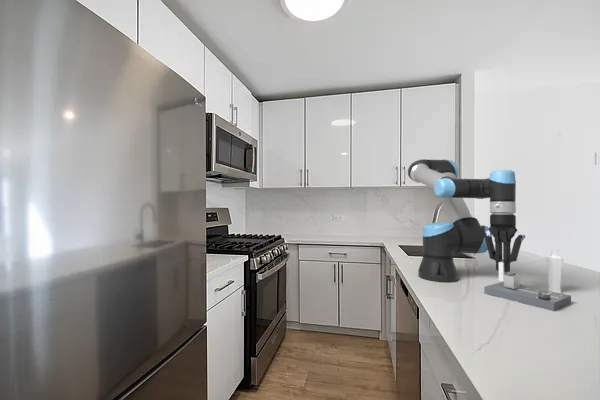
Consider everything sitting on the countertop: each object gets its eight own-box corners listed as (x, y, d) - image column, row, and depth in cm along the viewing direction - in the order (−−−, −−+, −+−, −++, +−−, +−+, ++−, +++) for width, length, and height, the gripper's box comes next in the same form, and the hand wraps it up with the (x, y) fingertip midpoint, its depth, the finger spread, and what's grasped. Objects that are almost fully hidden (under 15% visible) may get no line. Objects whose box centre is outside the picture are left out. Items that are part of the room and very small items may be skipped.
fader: (503, 286, 99) (503, 274, 99) (510, 284, 102) (510, 272, 102) (513, 288, 97) (513, 275, 97) (520, 286, 99) (520, 274, 99)
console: (484, 293, 100) (484, 281, 100) (503, 287, 108) (503, 277, 108) (553, 311, 84) (553, 297, 84) (571, 303, 91) (571, 290, 91)
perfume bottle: (567, 293, 102) (567, 251, 102) (554, 293, 102) (554, 250, 102) (556, 289, 106) (556, 249, 107) (544, 289, 106) (544, 248, 107)
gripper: (477, 213, 106) (477, 278, 105) (519, 214, 95) (519, 286, 94) (488, 213, 110) (488, 275, 109) (529, 214, 98) (529, 283, 98)
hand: (502, 280), depth 101 cm, fingers closed
